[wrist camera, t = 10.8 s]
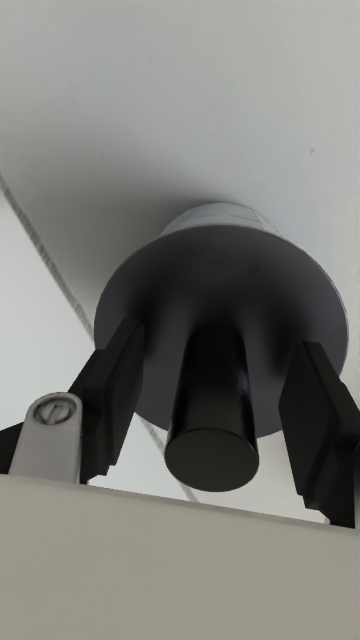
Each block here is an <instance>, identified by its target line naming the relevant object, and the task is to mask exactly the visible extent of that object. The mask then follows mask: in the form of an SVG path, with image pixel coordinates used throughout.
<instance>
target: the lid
mask: <svg viewBox="0 0 360 640" xmlns="http://www.w3.org/2000/svg"><path fill="white" fill-rule="evenodd" d="M123 318H130V319H138V320H139V321H140V324H144V326H145V330H144V363H143V385H142V390H141V393H140V396H139V399H138V402H137V405H136V408H135V411H134V412H135V413H137V414H138V415H139V416H141V417H142V418H144V419H145V420H147V421H148V422H150V423H152V424H154V425H155V426H157V427H159V428H161V429H163V430H166V431H168V436H167V441H166V446H165V451H164V459H165V463H166V466H167V468H168V470H169V471H170V473H171V474H172V475H173V476H174V477H175V478H176V479H177V480H179V481H180V482H182V483H183V484H185V485H187V486H189V487H191V488H194V489H197V490H201V491H207V492H226V491H231V490H235V489H238V488H240V487H242V486H244V485H245V484H247V483H248V482H250V481H251V480H252V479H253V477H254V476H255V474H256V473H257V470H258V467H259V454H258V445H257V438H260V437H264V436H267V435H271V434H273V433H276V432H278V431H281V430H283V429H282V424H281V420H280V415H279V410H278V404H279V399H280V396H281V392H282V389H283V385H284V382H285V379H286V375H287V372H288V369H289V365H290V362H291V358H292V355H293V352H294V348H295V346H296V344H301V342H302V341H303V340H304V341H312V342H319V343H321V345H322V347H323V348H324V350H325V352H326V354H327V356H328V358H329V360H330V362H331V364H332V365H333V367H334V369H335V371H336V373H337V375H338V377H339V376H340V374H341V372H342V369H343V366H344V363H345V360H346V356H347V350H348V343H349V326H348V320H347V315H346V310H345V307H344V304H343V302H342V299H341V296H340V294H339V292H338V290H337V289H336V287H335V285H334V283H333V282H332V280H331V279H330V277H329V276H328V275H327V274H326V272H325V271H324V270H323V269H322V267H321V266H320V265H319V264H318V263H317V262H316V261H315V260H314V259H313V258H312V257H311V256H309V255H308V254H307V253H306V252H305V251H304V250H302V249H301V248H299V247H298V246H296V245H295V244H293V243H292V242H290V241H289V240H287V239H285V238H283V237H281V236H278V235H276V234H274V233H272V232H269V231H266V230H263V229H260V228H257V227H253V226H248V225H242V224H236V223H205V224H195V225H191V226H187V227H183V228H178V229H175V230H173V231H170V232H168V233H165V234H163V235H160V236H158V237H156V238H155V239H153V240H151V241H149V242H147V243H146V244H144V245H143V246H142V247H140V248H139V249H138V250H136V251H135V252H134V253H132V254H131V255H130V256H129V257H128V258H127V259H126V260H125V261H124V262H123V263H122V264H121V265H120V266H119V267H118V269H117V270H116V271H115V273H114V274H113V275H112V277H111V278H110V280H109V281H108V283H107V284H106V286H105V288H104V290H103V292H102V294H101V297H100V300H99V303H98V306H97V309H96V314H95V320H94V342H95V350H96V349H103V350H104V349H105V348H106V346H107V344H108V343H109V341H110V340H111V338H112V336H113V335H114V333H115V331H116V330H117V328H118V326H119V325H120V323H121V321H122V320H123Z"/></svg>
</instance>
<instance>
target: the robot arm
mask: <svg viewBox="0 0 360 640" xmlns="http://www.w3.org/2000/svg"><path fill="white" fill-rule="evenodd" d="M144 330H145V326H144V324H140V321H139V320H138V319H130V318H123V320H122V321H121V323H120V325H119V326H118V328H117V330H116V331H115V333H114V335H113V336H112V338H111V340H110V341H109V343H108V344H107V346H106V348H105V349H104V350H103V349H96V350H95V351H94V352H93V354H92V355H91V357H90V359H89V360H88V361H87V363H86V364H85V366H84V368H83V369H82V370H81V372H80V374H79V375H78V377H77V378H76V380H75V381H74V383H73V384H72V386H71V387H70V389H69V390H68V392H56V393H50V394H48V395H45V396H42V397H41V398H39V399H37V400H36V401H35V402H34V403H33V404H32V405H31V406H30V407H29V409H28V411H27V414H26V417H25V420H24V422H21V423H19V424H16V425H14V426H11V427H9V428H6V429H4V430H1V431H0V640H360V411H359V409H358V408H357V406H356V404H355V402H354V400H353V398H352V396H351V395H350V393H349V391H348V389H347V387H346V385H345V384H344V383H343V382H341V381H340V379H339V377H338V375H337V373H336V371H335V369H334V367H333V365H332V364H331V362H330V360H329V358H328V356H327V354H326V352H325V350H324V348H323V347H322V345H321V343H319V342H312V341H304V340H303V341H302V342H301V344H296V346H295V348H294V352H293V355H292V358H291V362H290V365H289V369H288V372H287V375H286V379H285V382H284V385H283V389H282V392H281V396H280V399H279V404H278V410H279V415H280V420H281V424H282V429H283V433H284V438H285V442H286V447H287V451H288V456H289V460H290V465H291V469H292V474H293V478H294V483H295V487H296V491H297V494H298V495H301V496H303V500H304V504H305V508H307V509H313V510H319V511H320V512H321V513H322V514H324V515H325V516H326V517H325V524H322V523H316V522H311V521H305V520H299V519H293V518H287V517H281V516H275V515H269V514H263V513H257V512H251V511H245V510H239V509H233V508H227V507H221V506H215V505H208V504H202V503H196V502H190V501H184V500H177V499H172V498H165V497H159V496H153V495H147V494H140V493H133V492H127V491H121V490H114V489H109V488H103V487H96V486H90V485H89V480H90V479H92V478H93V477H95V476H97V475H103V476H106V475H107V472H108V469H109V466H110V465H114V466H115V465H116V463H117V460H118V457H119V454H120V451H121V448H122V446H123V443H124V440H125V437H126V434H127V431H128V428H129V425H130V422H131V420H132V417H133V414H134V411H135V408H136V405H137V402H138V399H139V396H140V393H141V390H142V385H143V363H144Z"/></svg>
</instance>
